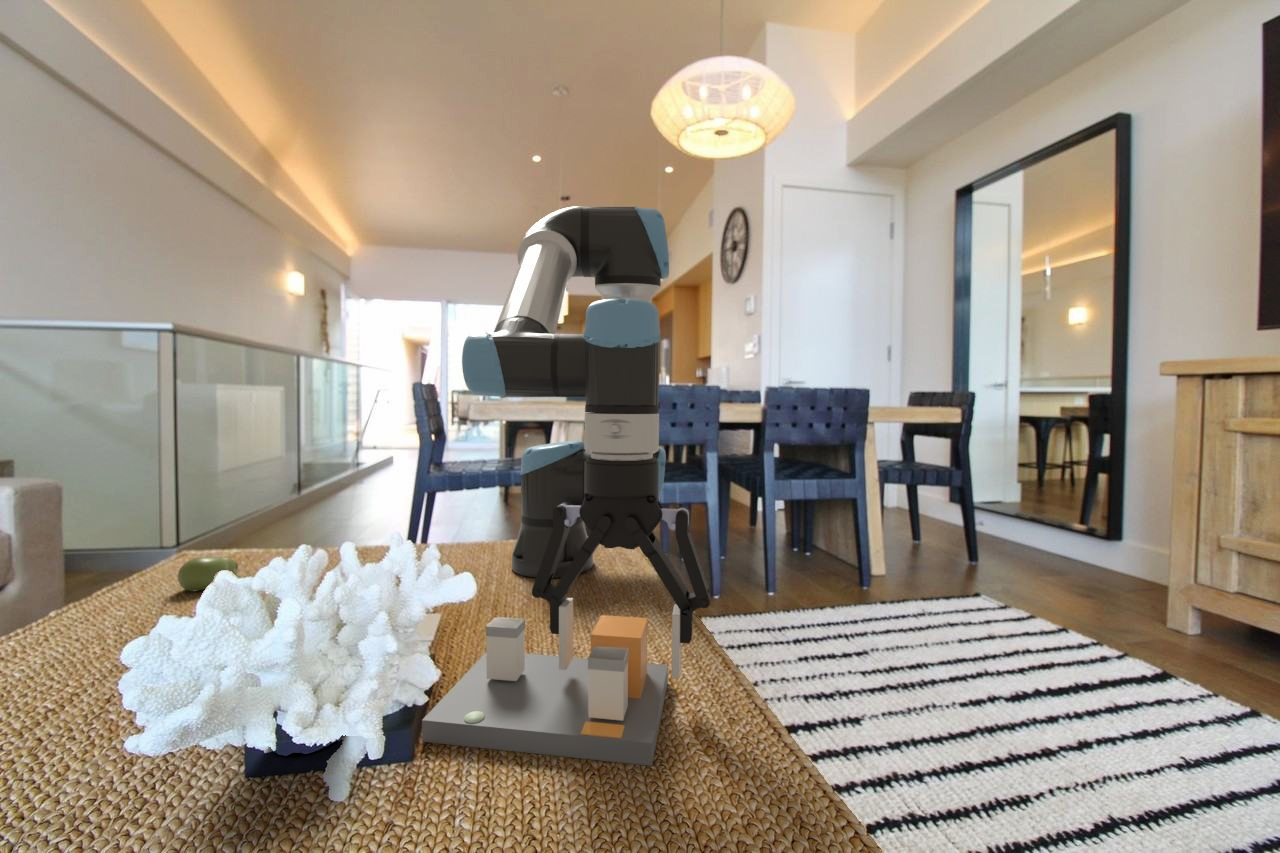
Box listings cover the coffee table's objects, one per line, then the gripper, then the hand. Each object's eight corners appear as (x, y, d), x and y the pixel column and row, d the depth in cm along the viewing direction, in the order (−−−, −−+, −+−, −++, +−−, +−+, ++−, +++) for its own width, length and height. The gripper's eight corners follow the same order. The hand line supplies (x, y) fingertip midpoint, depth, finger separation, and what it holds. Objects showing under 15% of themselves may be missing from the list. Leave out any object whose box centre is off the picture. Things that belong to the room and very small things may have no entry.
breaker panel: (487, 667, 63) (487, 649, 63) (667, 682, 60) (668, 663, 60) (422, 741, 49) (422, 719, 49) (651, 765, 46) (652, 741, 46)
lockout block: (601, 669, 59) (601, 615, 59) (647, 673, 58) (647, 618, 58) (590, 694, 54) (590, 634, 54) (640, 698, 53) (640, 638, 53)
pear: (170, 559, 86) (215, 552, 96) (166, 594, 85) (213, 583, 95) (206, 559, 86) (248, 552, 96) (203, 593, 86) (246, 583, 96)
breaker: (495, 667, 59) (495, 616, 58) (525, 669, 58) (525, 618, 58) (485, 678, 56) (485, 626, 56) (516, 681, 56) (516, 628, 55)
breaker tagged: (594, 702, 52) (594, 645, 52) (628, 705, 51) (628, 648, 51) (587, 717, 49) (587, 658, 49) (623, 720, 49) (623, 660, 49)
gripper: (497, 456, 53) (498, 676, 54) (739, 462, 50) (736, 696, 51) (524, 450, 61) (525, 643, 62) (737, 454, 57) (734, 659, 58)
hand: (620, 667), depth 56 cm, fingers open, 11 cm apart
